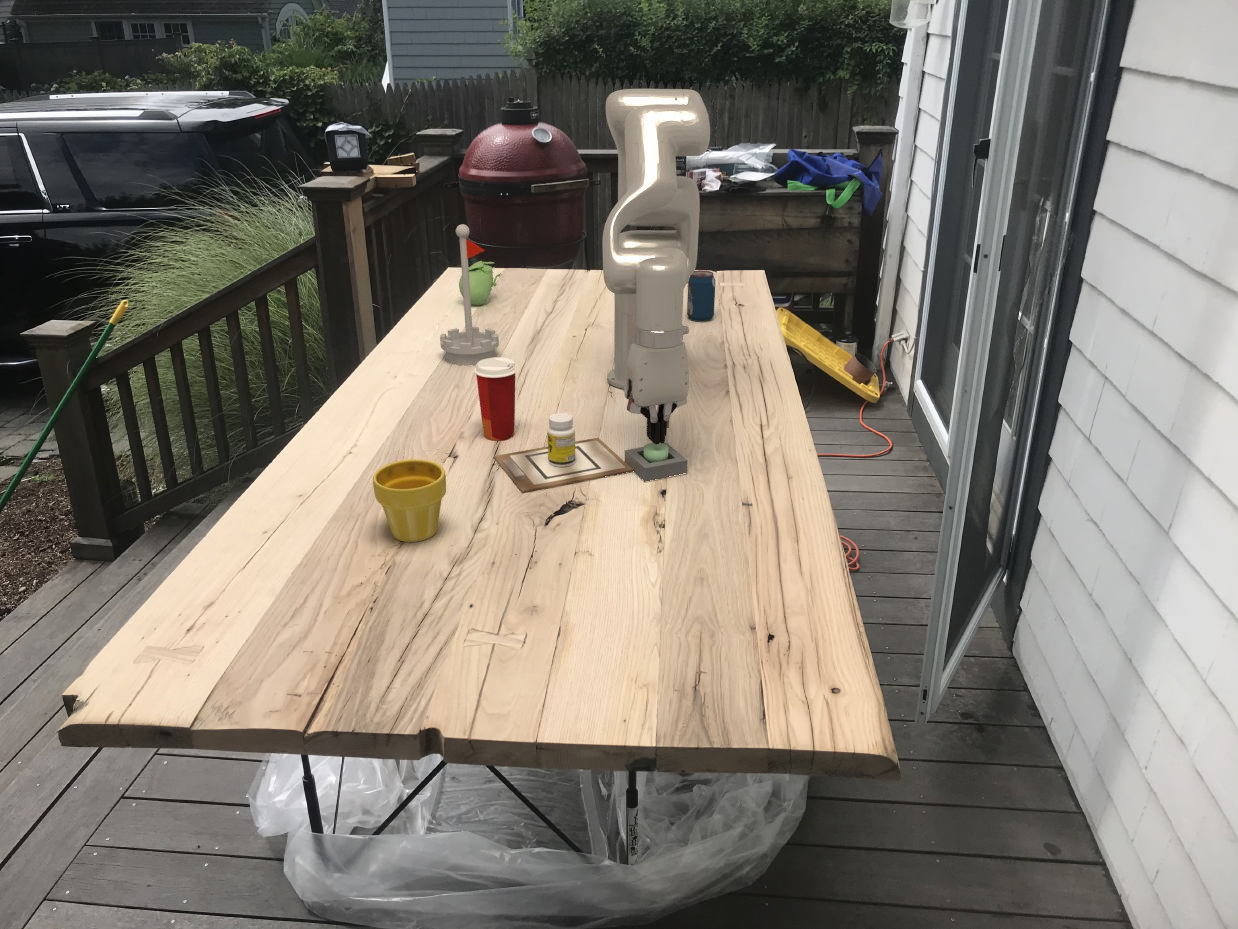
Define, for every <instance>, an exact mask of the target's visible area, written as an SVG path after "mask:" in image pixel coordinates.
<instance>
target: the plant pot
mask: <svg viewBox="0 0 1238 929" xmlns="http://www.w3.org/2000/svg"><path fill="white" fill-rule="evenodd" d="M372 485H373V490H374V491H373V492H374V496H375V500H376V502H378V503H379V504H380V505H381V506H382V507H381V508H382V510H383V512H384V515H385V517H386V520H387V523H388V526H389V529H390V531H391V534H392V536H393V537H394V538H395V540H398V541H400V542H403V543H404V542H406V543H415V542H416V543H418V542H421V541H424V540H427V539H430V538H431V537H433V536H434V535H435V534H436V532H437V530H438V526H439V519H440V513H441V505H442V499H443V498H444V496H445V495H446V494H447V479H446V471H445V468H444V467H443V466H442V465H441V464H439V463H437V462H436V461H432V460H428V459H419V458H418V459H417V458H413V459H402V460H401V459H400V460H398V461H393V462H391V463H388V464H385V465H383V466H381V467H379V469H377V470H376V471H375V472H374V474H373V476H372Z"/></svg>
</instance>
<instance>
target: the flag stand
mask: <svg viewBox="0 0 1238 929" xmlns="http://www.w3.org/2000/svg"><path fill="white" fill-rule="evenodd" d="M470 233H471V232H470V228H469V226H468V225H466V224H464V223H463V224H459V225H457V227H456V228H455V234H456V236H457V237H458V238H459V250H460V264H461V276H462V283H463V297H462V298H463V310H464V311H463V312H464V328H465V331H462V332H460V331H459V328H457V327H455V328H451V329H448V330H447V333H441V334H440V335H439V340H440V348H441V349H442V350H443V351H444V352H445V360H446V362H448V363H450V364H451V363H452V365H455V364H456V365H457V366H462V365H464V367H465V365H466V367H469V366H468V365H473V366H476V364H477V363H478V362H479V361H481V360H483V359H487V358H496V354H495V353H496V352H495V350H496V349H497V348H498V347H499V346H500V344H499V333H496V330H494V329H492V328H485V329H484V330H485V331H480V330H479V328H480V327H479V326H473V318H472V316H473V315H472V304H471V299H470V283H469V259H470V258H472V257H475V256H476V255H479V254H480V253H483V252H485V249H483V248H482V247H480V246H479V245H477V244H476V243H474V242H473V241H471V240H469V239H468V237H469V235H470Z"/></svg>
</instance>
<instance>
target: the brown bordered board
mask: <svg viewBox="0 0 1238 929" xmlns="http://www.w3.org/2000/svg"><path fill="white" fill-rule="evenodd" d="M575 457H576V458H575V463H574V464H573V465H570V466H567V467H555V466H553V465H551V464H550V463H549V461H548V446H544V447H537V448H532V449H531V448H530V449H526V450H520V451H515V452H510V453H509V452H508V453H503V454H497V455H494V456H493V459H494V460H495V462H496V463H497V464H498V465H499V466H500V468H501V469H502V470H503V471H504V472H505V474H506V475H507V477H508V478H509V479H510V480H511V481H512V482H513V484H514V485H515V486H516V487H517V488H518V490H519V491H520V493H522V494H526V493H532V492H536V491H542V490H547V489H552V488H556V487H562V486H566V485H567V486H568V485H572V484H578V483H582V482H587V481H588V482H589V481H592V480H597V479H598V478H599V479H602V477H604V478H606V477H605V476H609V477H611V476H610V475H614V476H617V474H619V475H623V474H622V473H624V474H627V473H626V472H629V473H633V472H632V471H633V469H632V468H631V467H630V466H629V465H628V464H627V463H626V462H625V460H624V459H622V458H621V457H620V456H619V455H618V454H617V453H616V452H615V451H614V450H612V448H610V447H609V446H608V445H607V444H606V443H605V442H604V441H602V440H601V438H600V437H593V438H589V439H583V440H575Z"/></svg>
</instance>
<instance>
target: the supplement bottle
mask: <svg viewBox="0 0 1238 929" xmlns="http://www.w3.org/2000/svg"><path fill="white" fill-rule="evenodd" d="M573 424H574V421H573V416H572V415H571V414H570V413H566V412H556V413H552V414H551V415H550V416H549V418H548V425H549V426H548V428H547V433H546V434H547V447H548V461H549V463H550V464H551V465H553V466H555V467H567V466H570V465H573V464H574V463H575V458H576V457H575V442H576V429H575V427H574V426H573Z"/></svg>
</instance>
